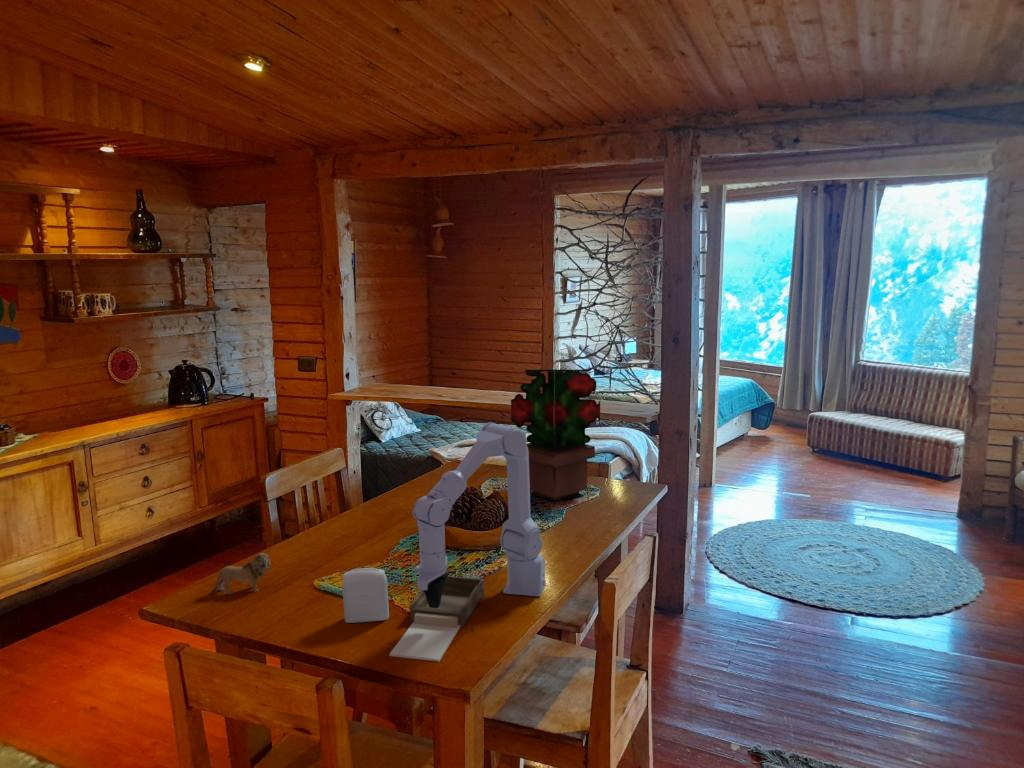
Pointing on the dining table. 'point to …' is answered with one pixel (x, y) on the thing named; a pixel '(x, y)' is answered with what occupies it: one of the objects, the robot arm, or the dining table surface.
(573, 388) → the potted plant
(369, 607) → the photo printer
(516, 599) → the dining table surface
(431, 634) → the cover plate
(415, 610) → the walnut box
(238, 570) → the lion figurine
